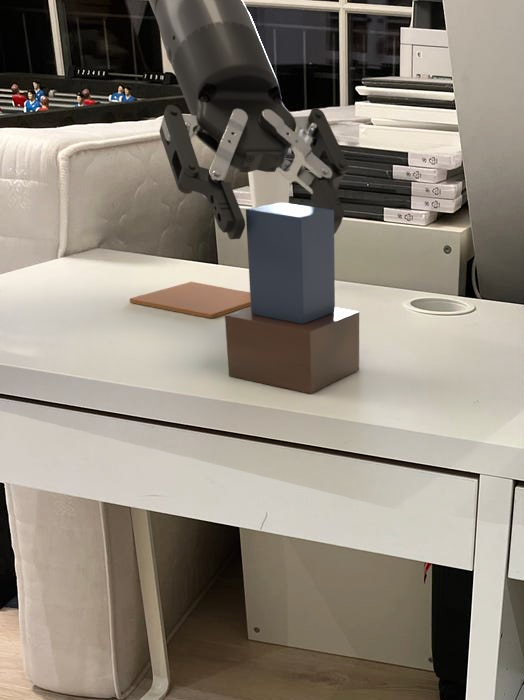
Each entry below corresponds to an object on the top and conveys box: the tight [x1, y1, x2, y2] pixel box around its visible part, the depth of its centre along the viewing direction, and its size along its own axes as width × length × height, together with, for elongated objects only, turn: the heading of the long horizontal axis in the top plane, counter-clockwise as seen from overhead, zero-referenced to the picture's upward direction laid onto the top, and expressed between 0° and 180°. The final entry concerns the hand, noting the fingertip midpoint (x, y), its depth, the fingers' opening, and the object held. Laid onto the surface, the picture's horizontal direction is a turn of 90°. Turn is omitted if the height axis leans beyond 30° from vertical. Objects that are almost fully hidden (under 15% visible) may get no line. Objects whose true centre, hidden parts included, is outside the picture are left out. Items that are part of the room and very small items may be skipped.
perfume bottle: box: [247, 170, 290, 208], centre depth 107 cm, size 5×4×15 cm
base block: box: [224, 306, 360, 395], centre depth 82 cm, size 8×8×5 cm
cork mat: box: [129, 281, 251, 319], centre depth 102 cm, size 10×10×1 cm
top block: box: [245, 202, 336, 324], centre depth 79 cm, size 5×5×8 cm
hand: (288, 230), depth 78 cm, fingers open, 8 cm apart
